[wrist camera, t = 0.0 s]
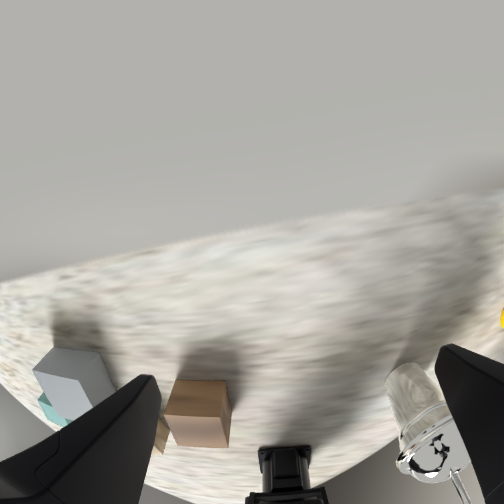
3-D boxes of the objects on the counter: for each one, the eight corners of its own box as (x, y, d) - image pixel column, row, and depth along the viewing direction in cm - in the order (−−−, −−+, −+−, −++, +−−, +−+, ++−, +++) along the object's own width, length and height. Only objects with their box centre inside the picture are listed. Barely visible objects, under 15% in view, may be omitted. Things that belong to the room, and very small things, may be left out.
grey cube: (120, 399, 27) (105, 428, 22) (76, 391, 27) (58, 416, 23) (100, 351, 25) (78, 380, 20) (54, 346, 26) (32, 369, 21)
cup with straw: (427, 332, 24) (537, 478, 4) (440, 380, 26) (514, 501, 7) (356, 376, 25) (420, 554, 6) (380, 417, 27) (429, 553, 8)
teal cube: (82, 410, 28) (70, 430, 25) (60, 402, 28) (47, 420, 25) (74, 390, 27) (60, 410, 24) (51, 382, 27) (37, 400, 23)
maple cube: (169, 430, 28) (162, 454, 24) (144, 431, 29) (135, 454, 25) (152, 409, 27) (143, 434, 23) (126, 411, 28) (115, 434, 24)
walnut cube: (231, 412, 27) (228, 448, 22) (186, 411, 27) (177, 445, 22) (225, 379, 25) (219, 417, 21) (175, 379, 26) (163, 414, 21)
